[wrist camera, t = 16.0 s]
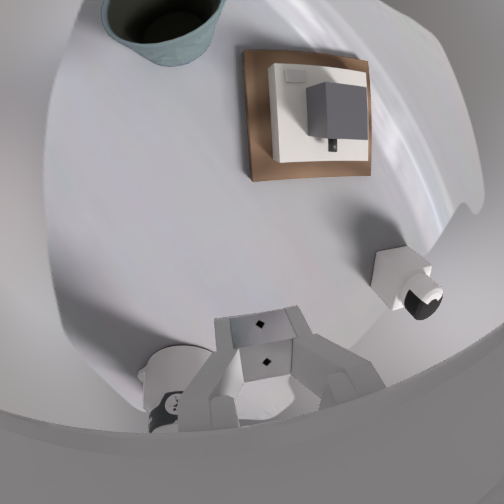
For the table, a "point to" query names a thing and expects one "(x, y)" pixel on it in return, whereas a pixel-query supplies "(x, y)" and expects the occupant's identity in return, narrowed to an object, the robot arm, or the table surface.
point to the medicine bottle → (406, 282)
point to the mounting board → (261, 117)
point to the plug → (337, 112)
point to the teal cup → (163, 27)
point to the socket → (295, 114)
